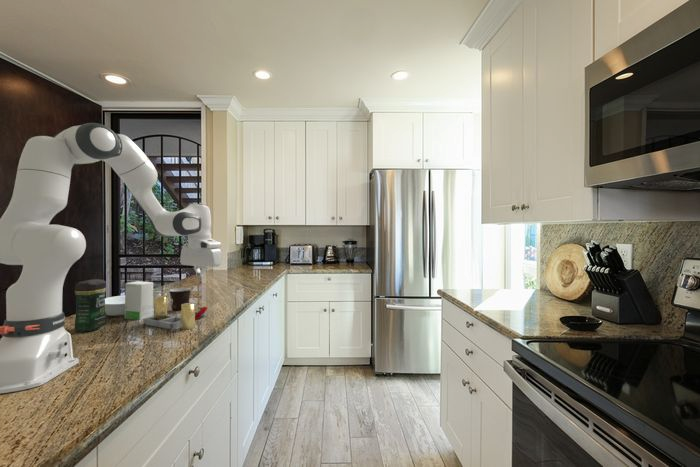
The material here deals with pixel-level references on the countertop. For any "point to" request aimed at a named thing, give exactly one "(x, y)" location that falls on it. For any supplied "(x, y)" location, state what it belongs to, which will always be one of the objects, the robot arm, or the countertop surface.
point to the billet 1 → (160, 307)
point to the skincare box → (138, 300)
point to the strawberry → (200, 312)
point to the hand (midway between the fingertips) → (200, 276)
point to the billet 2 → (187, 316)
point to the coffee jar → (90, 305)
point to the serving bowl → (115, 305)
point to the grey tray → (165, 322)
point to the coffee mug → (179, 297)
